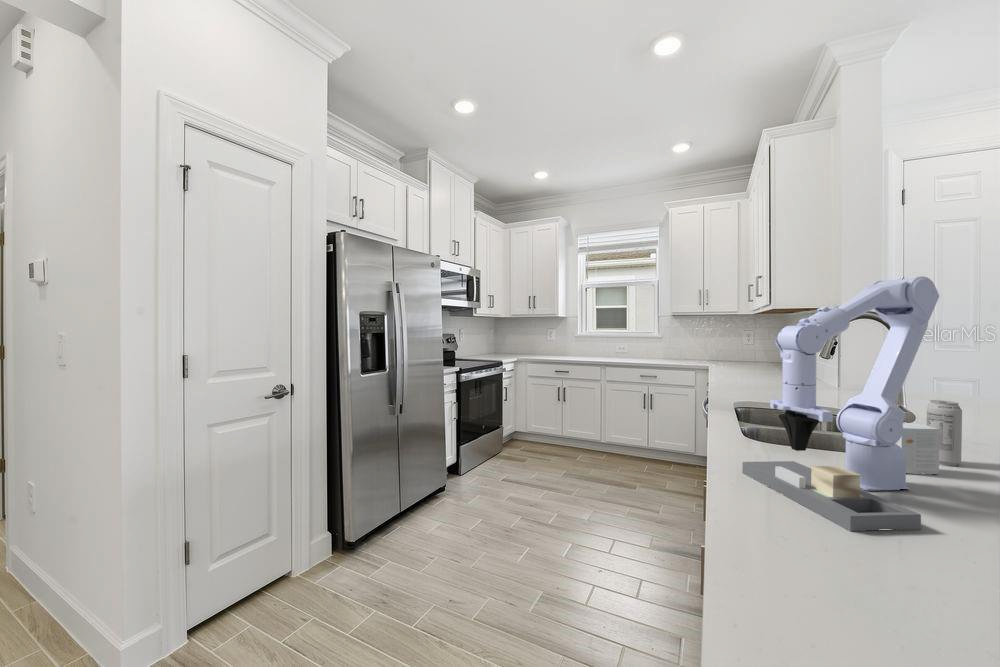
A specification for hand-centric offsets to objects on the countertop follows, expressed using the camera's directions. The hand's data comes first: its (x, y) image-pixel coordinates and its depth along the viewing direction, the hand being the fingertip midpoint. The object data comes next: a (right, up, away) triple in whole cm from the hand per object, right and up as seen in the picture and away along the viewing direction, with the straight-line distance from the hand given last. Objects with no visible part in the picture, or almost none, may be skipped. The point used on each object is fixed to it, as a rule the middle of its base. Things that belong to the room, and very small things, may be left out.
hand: (798, 449), depth 88 cm
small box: (+33, -8, +11) cm, 36 cm away
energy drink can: (+47, -8, +17) cm, 50 cm away
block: (0, -5, -9) cm, 11 cm away
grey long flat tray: (0, -8, -5) cm, 9 cm away
